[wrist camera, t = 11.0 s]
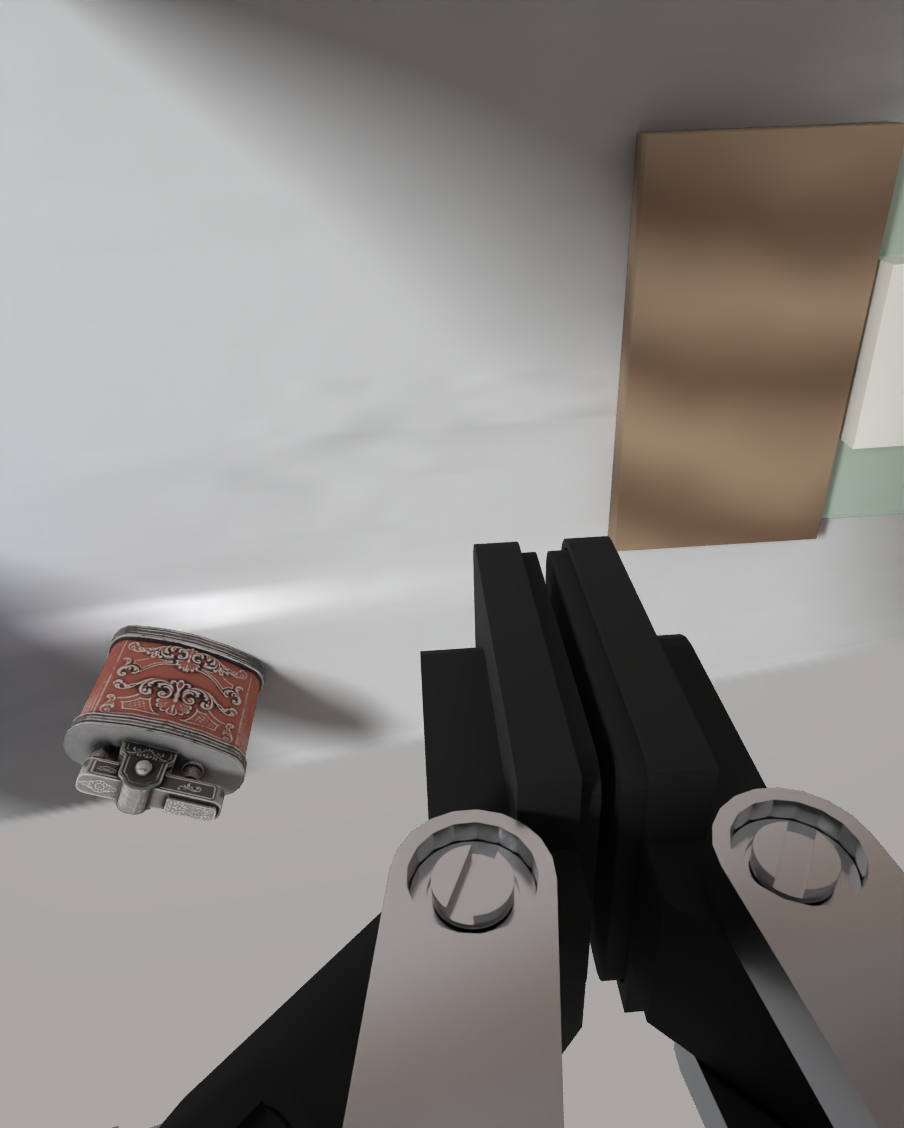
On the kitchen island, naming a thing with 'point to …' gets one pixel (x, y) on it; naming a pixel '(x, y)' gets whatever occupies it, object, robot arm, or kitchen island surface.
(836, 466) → the mat
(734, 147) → the riser
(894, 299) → the tile
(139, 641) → the lighter
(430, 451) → the kitchen island surface
